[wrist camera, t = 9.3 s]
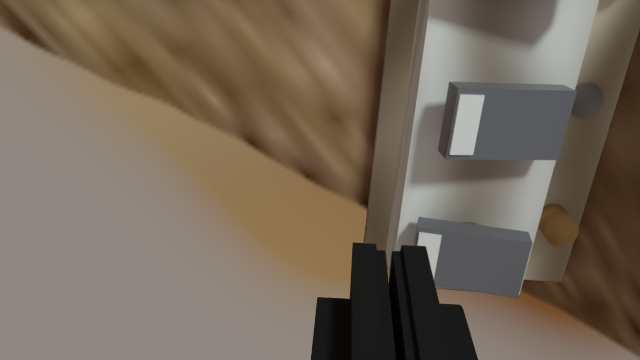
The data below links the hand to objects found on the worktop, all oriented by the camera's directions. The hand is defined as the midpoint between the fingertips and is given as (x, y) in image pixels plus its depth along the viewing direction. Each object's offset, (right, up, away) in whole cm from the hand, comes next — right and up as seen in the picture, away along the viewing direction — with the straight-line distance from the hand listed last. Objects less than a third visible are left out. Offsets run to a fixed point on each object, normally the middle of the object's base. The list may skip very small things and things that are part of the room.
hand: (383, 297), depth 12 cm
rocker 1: (+8, +6, +15) cm, 18 cm away
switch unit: (+9, +8, +20) cm, 23 cm away
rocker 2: (+7, -1, +18) cm, 19 cm away
